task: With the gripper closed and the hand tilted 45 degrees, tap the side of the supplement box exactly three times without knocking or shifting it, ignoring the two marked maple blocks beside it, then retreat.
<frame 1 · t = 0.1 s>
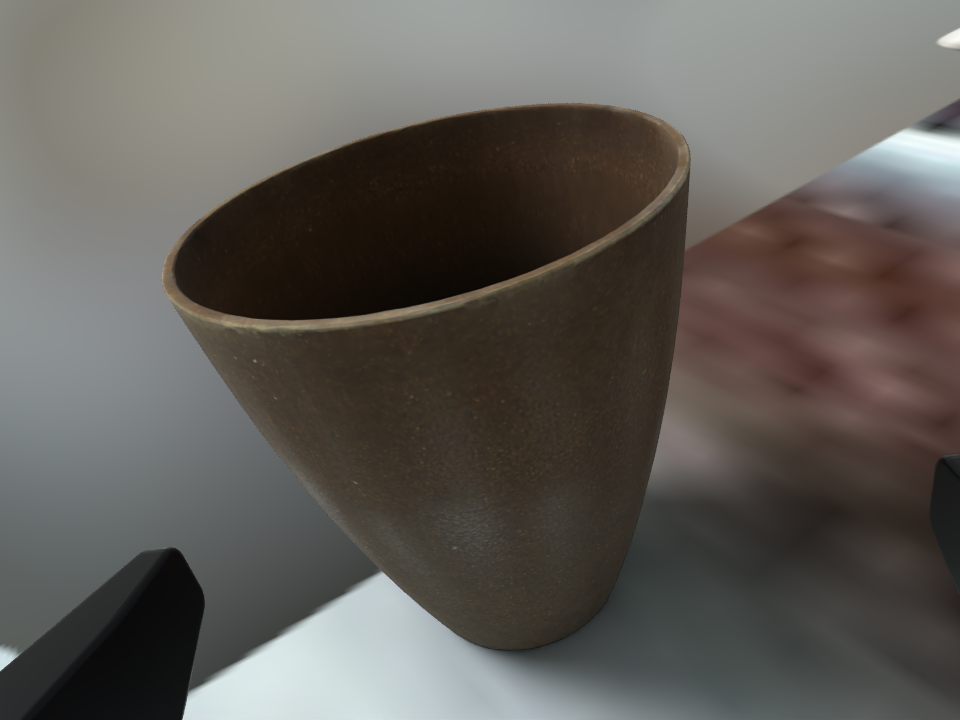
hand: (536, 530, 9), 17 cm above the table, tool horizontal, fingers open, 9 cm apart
plant pot: (519, 576, 31), on the table
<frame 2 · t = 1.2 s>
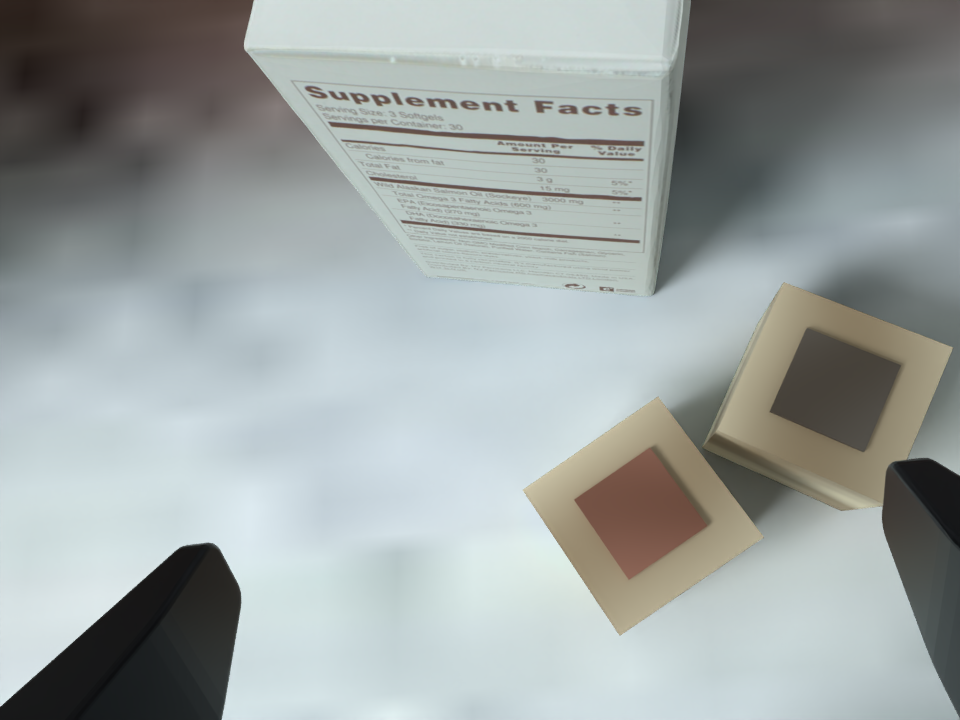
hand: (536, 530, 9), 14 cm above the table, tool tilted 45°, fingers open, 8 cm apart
supplement box: (550, 187, 25), on the table
marked block a: (797, 414, 22), on the table
marked block b: (636, 517, 22), on the table
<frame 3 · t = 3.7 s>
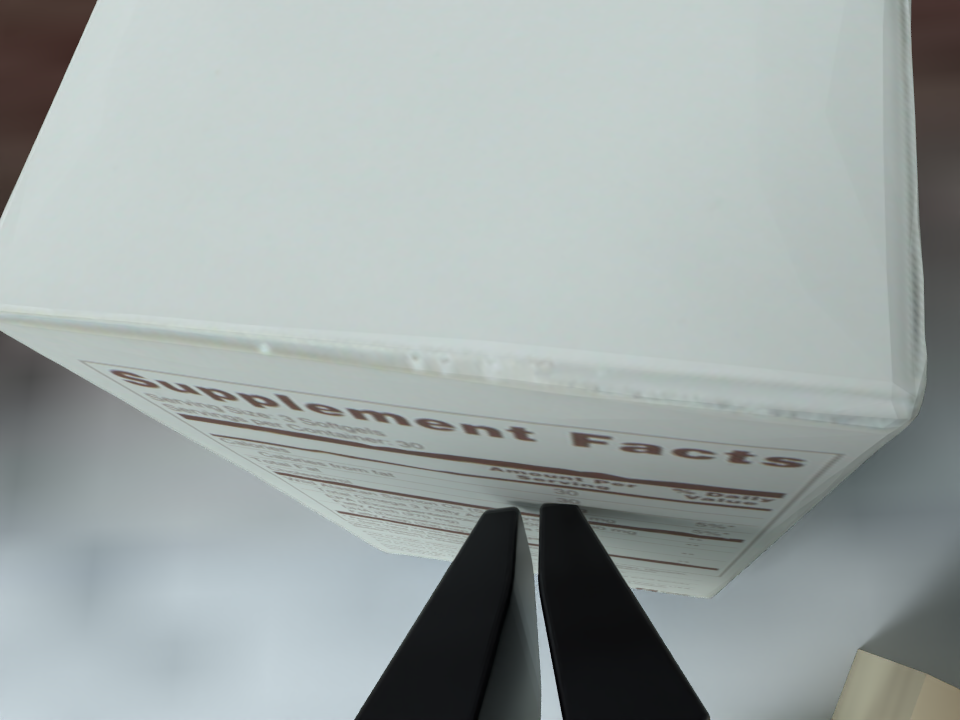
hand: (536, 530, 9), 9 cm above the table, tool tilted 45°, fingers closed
supplement box: (561, 425, 18), on the table, touching gripper
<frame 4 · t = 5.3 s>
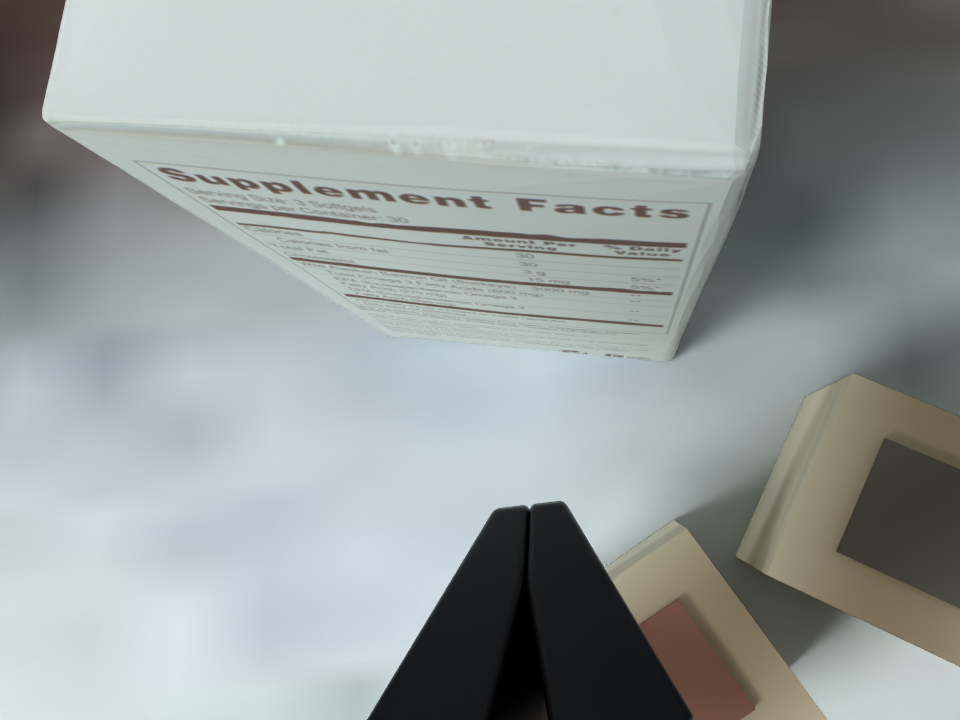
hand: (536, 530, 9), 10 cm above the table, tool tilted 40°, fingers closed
supplement box: (541, 218, 20), on the table
marked block a: (855, 514, 18), on the table
marked block b: (654, 643, 18), on the table
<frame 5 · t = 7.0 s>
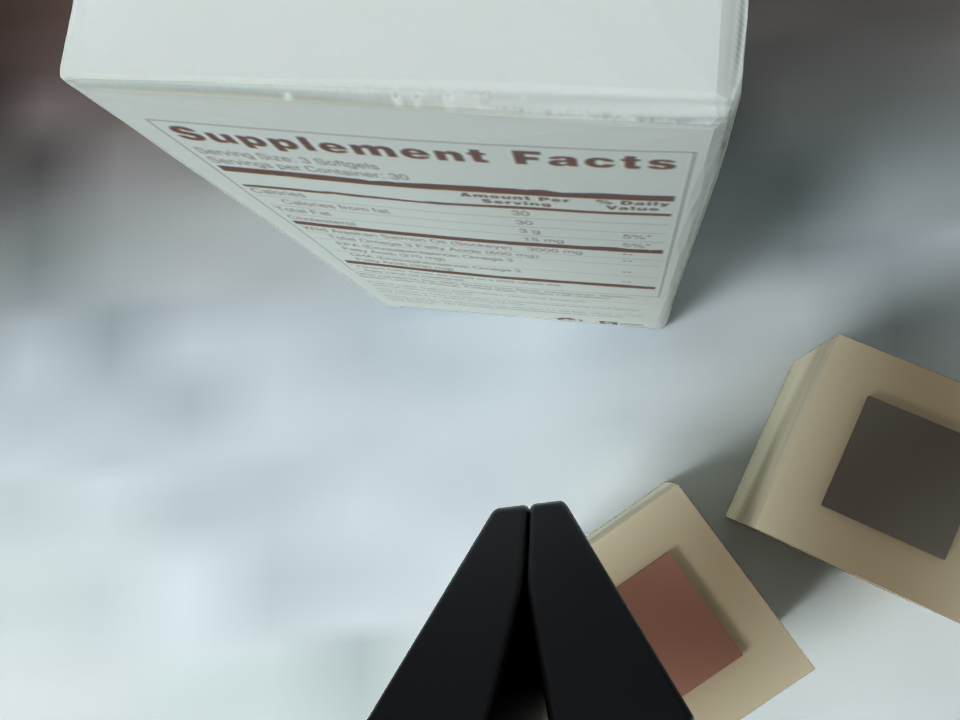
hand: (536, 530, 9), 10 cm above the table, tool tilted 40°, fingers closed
supplement box: (537, 190, 21), on the table
marked block a: (842, 475, 18), on the table
marked block b: (647, 600, 19), on the table
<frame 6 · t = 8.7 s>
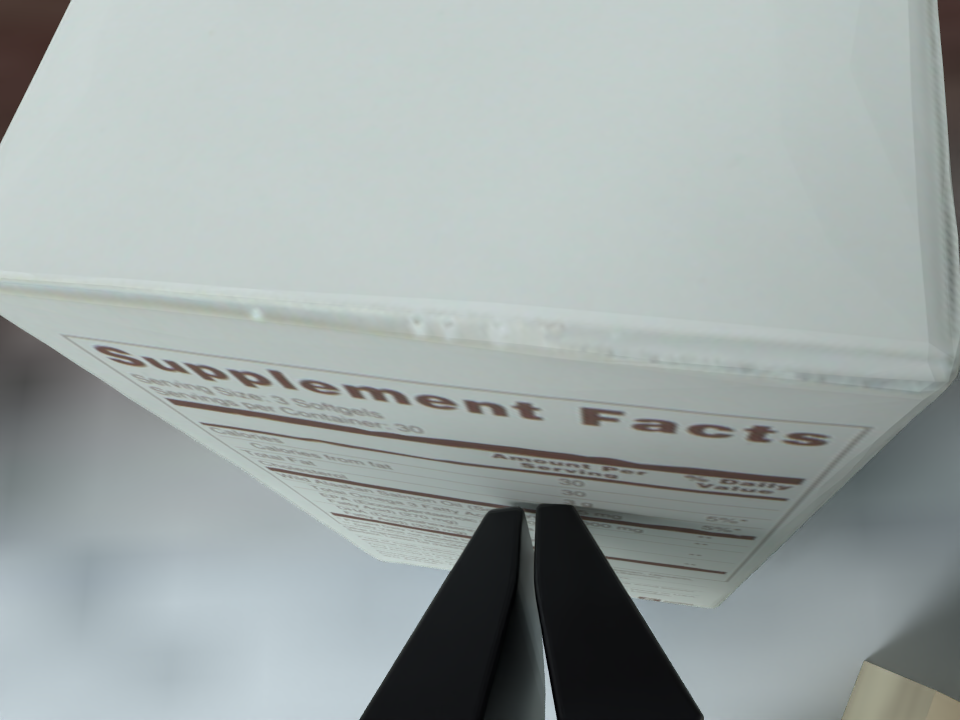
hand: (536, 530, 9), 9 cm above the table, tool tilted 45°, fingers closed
supplement box: (561, 431, 18), on the table, touching gripper
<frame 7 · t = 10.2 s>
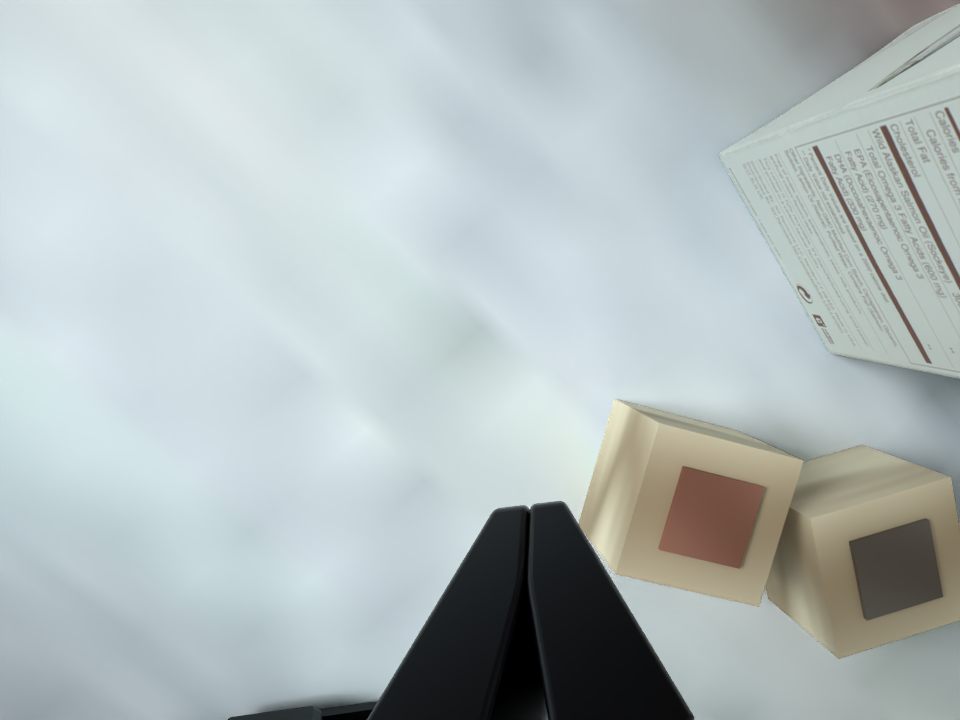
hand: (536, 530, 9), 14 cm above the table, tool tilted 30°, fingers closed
supplement box: (862, 195, 24), on the table
marked block a: (813, 521, 25), on the table
marked block b: (656, 476, 24), on the table
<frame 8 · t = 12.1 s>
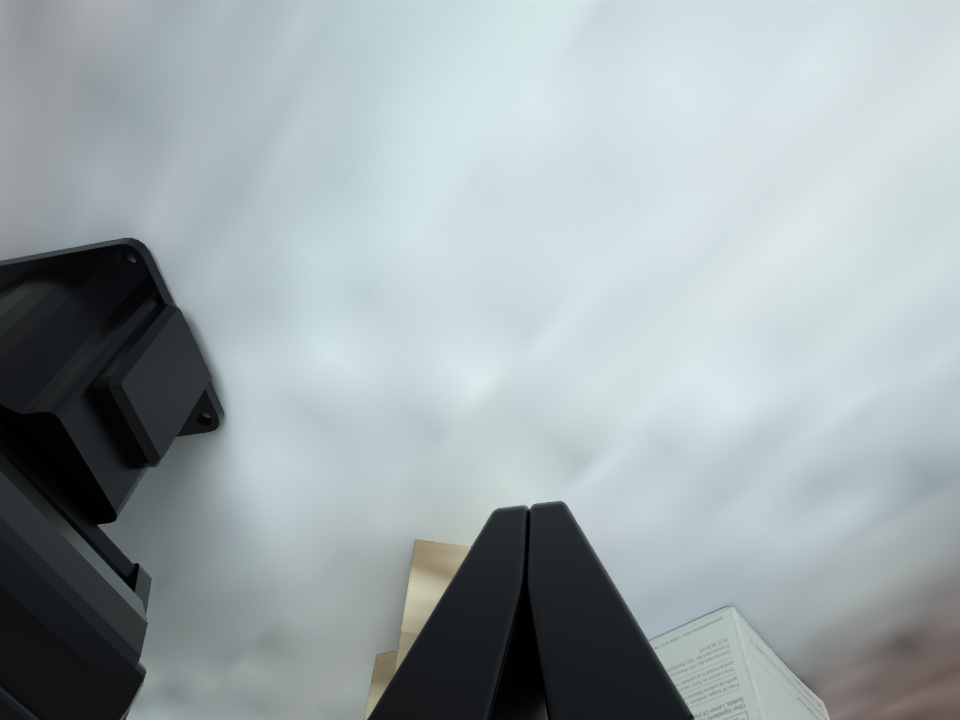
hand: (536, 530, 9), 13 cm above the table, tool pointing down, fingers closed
supplement box: (696, 680, 31), on the table
marked block a: (442, 673, 32), on the table
marked block b: (464, 584, 29), on the table
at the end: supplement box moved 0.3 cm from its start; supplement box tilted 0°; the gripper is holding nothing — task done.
